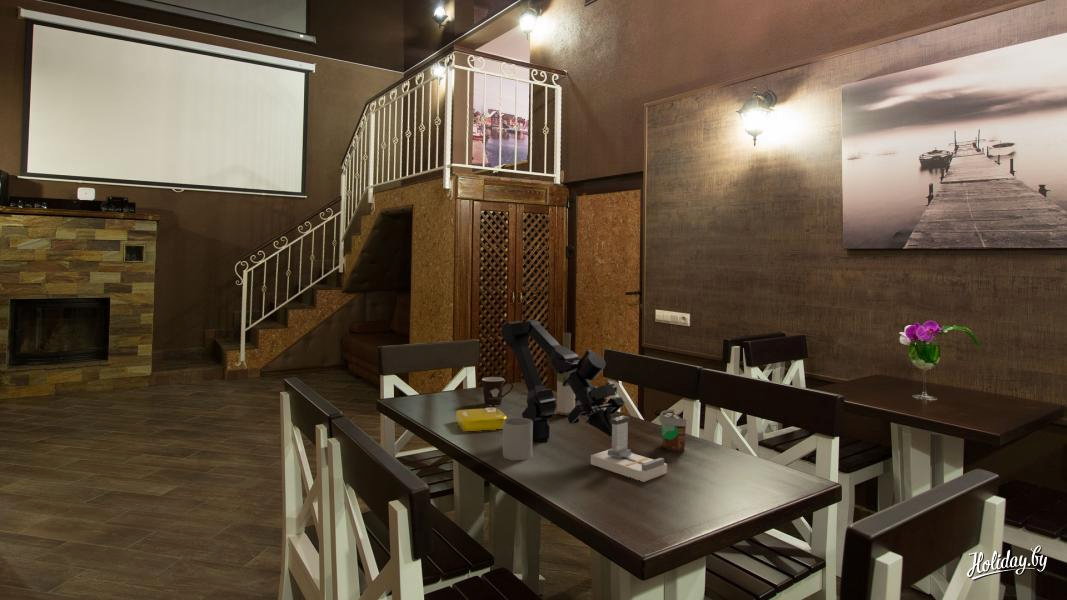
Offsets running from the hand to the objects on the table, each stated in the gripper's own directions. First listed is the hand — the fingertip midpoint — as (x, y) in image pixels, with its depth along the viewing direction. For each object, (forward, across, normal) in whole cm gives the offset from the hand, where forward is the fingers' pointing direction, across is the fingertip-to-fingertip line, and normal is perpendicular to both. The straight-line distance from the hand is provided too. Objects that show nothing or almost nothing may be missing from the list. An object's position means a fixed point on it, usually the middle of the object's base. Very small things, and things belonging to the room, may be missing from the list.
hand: (612, 435), depth 164 cm
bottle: (-28, +29, +38) cm, 56 cm away
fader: (+5, 0, +2) cm, 5 cm away
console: (+9, 0, +2) cm, 10 cm away
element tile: (-33, -4, +45) cm, 56 cm away
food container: (+7, +25, +5) cm, 26 cm away
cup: (-10, -16, +21) cm, 28 cm away
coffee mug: (-48, +19, +58) cm, 78 cm away
